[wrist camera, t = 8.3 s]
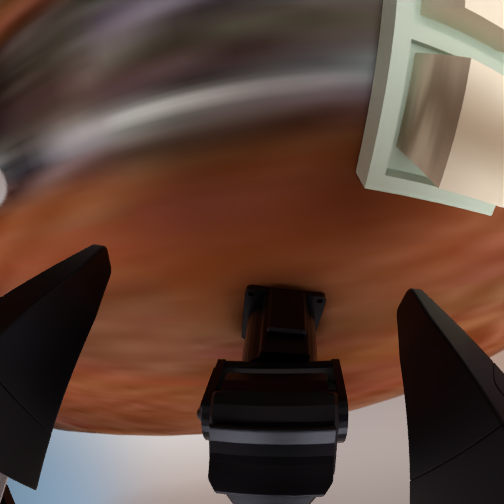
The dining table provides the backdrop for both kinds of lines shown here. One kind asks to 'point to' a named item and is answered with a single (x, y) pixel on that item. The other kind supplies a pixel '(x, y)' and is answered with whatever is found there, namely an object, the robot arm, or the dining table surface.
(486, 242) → the dining table surface
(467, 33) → the tray
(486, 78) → the maple cube
